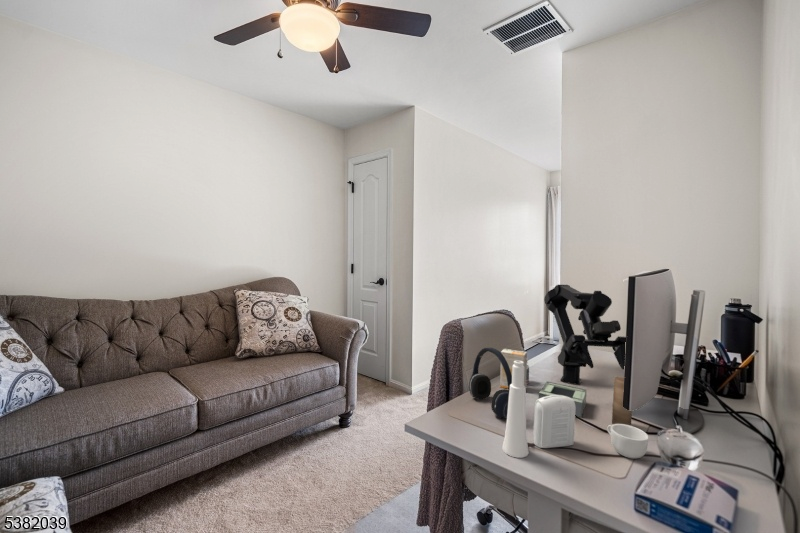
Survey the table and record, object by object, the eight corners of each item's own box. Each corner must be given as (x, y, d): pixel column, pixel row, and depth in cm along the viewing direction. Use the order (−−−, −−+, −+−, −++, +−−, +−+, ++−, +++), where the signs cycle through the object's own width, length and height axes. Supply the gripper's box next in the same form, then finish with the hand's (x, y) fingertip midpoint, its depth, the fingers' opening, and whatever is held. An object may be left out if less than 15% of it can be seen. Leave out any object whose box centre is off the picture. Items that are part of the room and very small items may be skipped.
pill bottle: (526, 380, 134) (527, 357, 133) (530, 385, 128) (531, 361, 128) (512, 379, 134) (513, 356, 134) (515, 384, 129) (516, 360, 128)
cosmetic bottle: (498, 444, 89) (501, 357, 88) (521, 443, 89) (525, 357, 88) (508, 458, 83) (511, 365, 82) (533, 457, 83) (536, 365, 82)
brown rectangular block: (612, 419, 103) (614, 375, 103) (631, 424, 101) (633, 379, 100) (611, 425, 100) (613, 380, 99) (630, 430, 97) (633, 384, 96)
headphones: (520, 421, 101) (523, 358, 100) (499, 424, 99) (502, 359, 98) (483, 393, 120) (485, 340, 120) (465, 395, 118) (467, 341, 117)
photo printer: (565, 437, 93) (567, 391, 92) (576, 446, 89) (579, 397, 88) (530, 441, 91) (532, 393, 90) (540, 450, 86) (542, 401, 86)
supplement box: (526, 388, 126) (527, 351, 125) (523, 392, 122) (524, 355, 121) (503, 383, 130) (504, 347, 130) (499, 387, 126) (500, 350, 125)
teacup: (655, 460, 83) (656, 438, 83) (629, 465, 81) (631, 442, 81) (618, 438, 93) (619, 418, 93) (595, 442, 91) (596, 421, 91)
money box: (546, 394, 121) (546, 381, 120) (585, 403, 114) (586, 389, 114) (538, 406, 111) (538, 392, 110) (581, 417, 104) (581, 402, 104)
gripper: (571, 309, 113) (585, 354, 103) (632, 311, 112) (653, 356, 101) (561, 328, 121) (573, 371, 111) (617, 330, 120) (635, 374, 110)
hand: (608, 368), depth 108 cm, fingers open, 9 cm apart
